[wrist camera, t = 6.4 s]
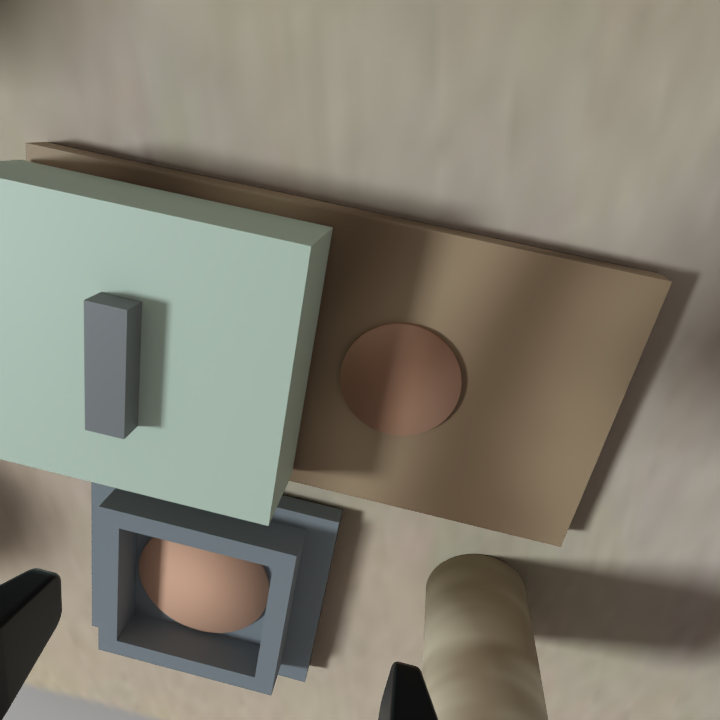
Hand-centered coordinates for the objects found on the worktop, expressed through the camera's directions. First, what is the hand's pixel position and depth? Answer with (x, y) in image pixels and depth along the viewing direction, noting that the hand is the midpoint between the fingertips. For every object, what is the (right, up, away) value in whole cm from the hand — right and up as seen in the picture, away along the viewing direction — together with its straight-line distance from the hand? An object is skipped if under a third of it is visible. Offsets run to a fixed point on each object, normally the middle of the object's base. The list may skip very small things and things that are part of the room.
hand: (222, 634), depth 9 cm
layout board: (+1, +5, +11) cm, 12 cm away
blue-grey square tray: (-4, -5, +16) cm, 17 cm away
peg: (+7, -5, +14) cm, 17 cm away
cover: (-4, +5, +10) cm, 12 cm away
